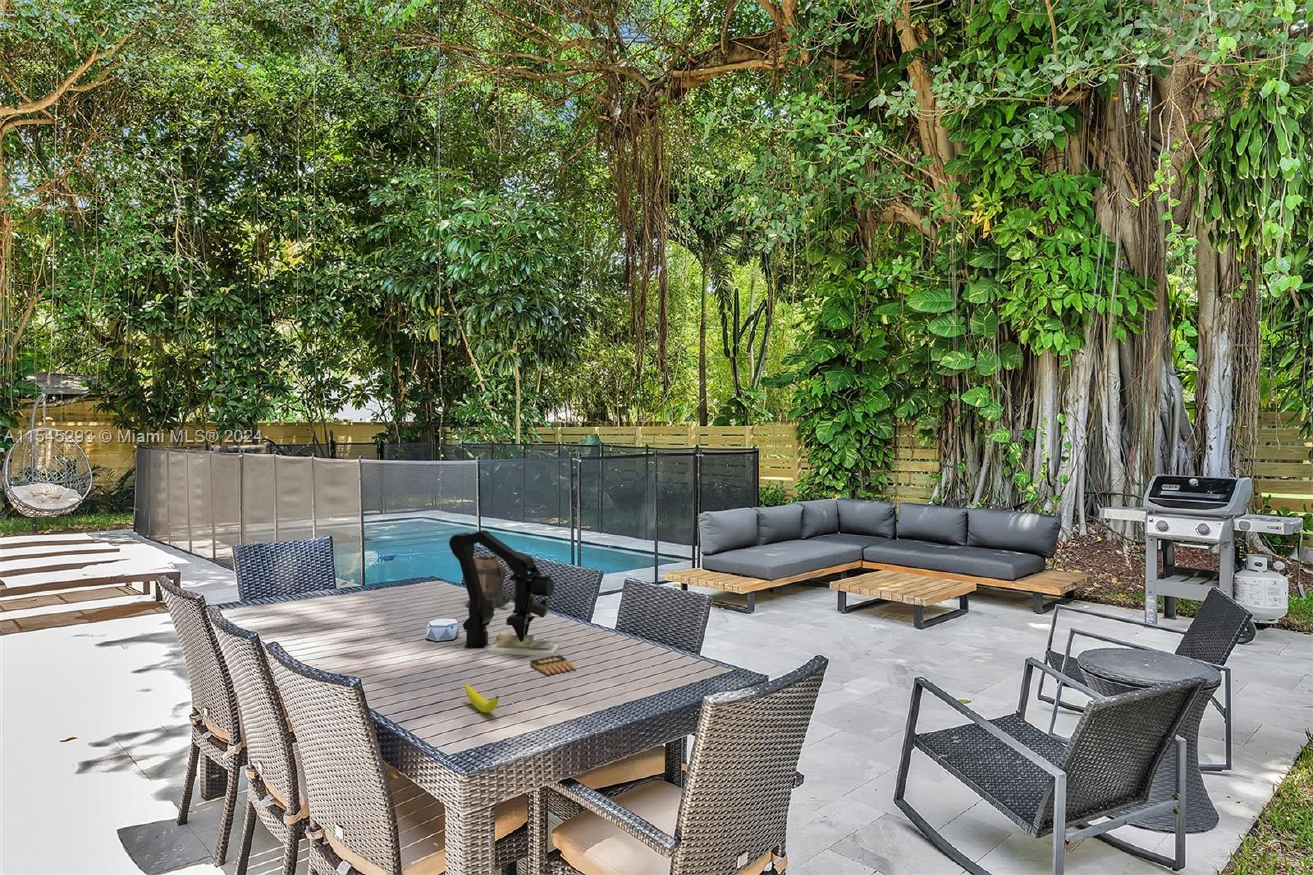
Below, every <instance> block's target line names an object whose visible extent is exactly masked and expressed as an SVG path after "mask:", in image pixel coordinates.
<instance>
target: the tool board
mask: <svg viewBox="0 0 1313 875" xmlns="http://www.w3.org/2000/svg"><path fill="white" fill-rule="evenodd" d="M558 650H560V645H559V644H554V645H553V646H552V647H551V648H530V646H504V645H496V643H495V644H493V645H491V647H490V648H488V650H487V654H488V655H489V654H490V655H491V654H492V655H512V656H513V655H515V656H516V655H517V656H535V657H537V656H539V657H540V656H542V657H551V656H555V654H556V653H557V652H558Z"/></svg>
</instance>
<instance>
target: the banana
mask: <svg viewBox="0 0 1313 875" xmlns="http://www.w3.org/2000/svg"><path fill="white" fill-rule="evenodd" d="M464 687H465V692H466V695H467V697H468V699H469V701H470V702H471V704H472V705H473V706H474V707H475V708H476V709H477V710H478V711H480V712H481V713H484V714H489V713H491V712H492V711H495V709H496V708H497V707H498V704H499V698H500V697H499V695H497V696H495V697H494V698H492V699H491V700H490V701H489V700H488V699H486V698H485V697H484V696H482V695H481V694H480V693H478V692H477V690H475V689H474V688H473V687H472V686H471V685H469V683H468V682H464Z"/></svg>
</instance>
